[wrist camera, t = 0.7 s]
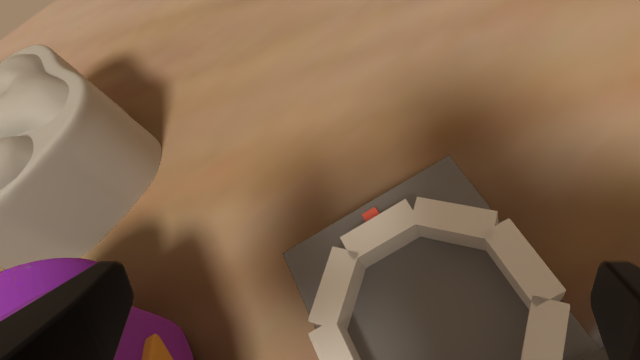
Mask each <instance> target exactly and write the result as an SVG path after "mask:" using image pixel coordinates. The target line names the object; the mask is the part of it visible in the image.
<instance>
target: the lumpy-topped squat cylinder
mask: <svg viewBox="0 0 640 360" xmlns="http://www.w3.org/2000/svg"><path fill="white" fill-rule="evenodd" d="M161 155H162V149H161V145H160V143H159V141H158V140H157V139H156V138H155V137H154V136H153V135H152V134H150V133H149V132H148V131H147V130H146V129H144V128H143V127H142V126H141V125H140V124H138V123H137V122H136V121H135V120H134V119H132V118H131V117H130V116H129V115H128V114H127V112H126V111H124V110H123V109H122V108H121V107H120V106H119V105H117V104H116V103H115V102H114V101H113V100H111V99H110V98H109V97H108V96H107V95H105V94H104V93H103V92H102V91H101V90H99V89H98V88H97V87H96V86H95V85H93V84H92V83H91V82H90V81H89V80H88V79H86V78H85V77H84V76H83V75H82V74H81V73H79V72H78V71H77V70H76V69H75V68H73V67H72V66H71V65H70V64H69V63H68V62H66V61H65V60H64V59H62V58H61V57H60V56H59V55H58V54H57V53H55V52H54V51H53V50H52V49H50V48H49V47H47V46H44V45H33V46H29V47H27V48H24V49H22V50H19V51H17V52H16V53H14V54H12V55H10V56H9V57H7V58H6V59H4V60H3V61H2V62H0V267H1V268H4V269H9V268H12V267H15V266H18V265H21V264H25V263H29V262H34V261H38V260H45V259H52V258H80V257H82V256H84V255H85V254H87V253H88V252H89V251H90V250H92V249H93V248H94V247H95V246H96V245H97V244H98V243H99V242H100V241H101V240H102V239H103V238H104V237H105V236H106V235H107V234H108V233H109V232H110V231H111V230H112V229H113V228H114V227H115V226H116V225H117V224H118V223H119V222H120V221H121V220H122V219H123V217H124V216H125V215H126V214H127V213H128V212H129V211H130V209H131V208H132V207H133V206H134V204H135V203H136V202H137V201H138V199H139V198H140V197H141V196H142V195H143V193H144V192H145V191H146V189H147V188H148V187H149V185H150V184H151V182H152V181H153V179H154V177H155V175H156V173H157V171H158V168H159V165H160V161H161Z"/></svg>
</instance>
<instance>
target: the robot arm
mask: <svg viewBox="0 0 640 360" xmlns="http://www.w3.org/2000/svg"><path fill="white" fill-rule="evenodd" d="M132 304H133V291H132V288H131V285H130V282H129V279H128V277H127V274H126V271H125V268H124V266H123V264H122V263H120V262H118V261H101V262H98V263H96V264H94V265H93V266H91V267H89V268H88V269H86V270H84V271H83V272H81V273H79V274H78V275H76V276H74V277H73V278H71V279H69V280H68V281H66V282H65V283H63V284H61V285H60V286H58V287H56V288H55V289H53V290H51V291H50V292H48V293H46V294H45V295H43V296H41V297H40V298H38V299H36V300H35V301H33V302H31V303H30V304H28V305H26V306H25V307H23V308H22V309H20V310H18V311H17V312H15V313H13V314H12V315H10V316H8V317H7V318H5V319H3V320H2V321H0V360H114V358H115V355H116V352H117V349H118V346H119V343H120V340H121V337H122V334H123V331H124V328H125V325H126V322H127V319H128V316H129V313H130V310H131V307H132ZM591 307H592V311H593V314H594V317H595V320H596V323H597V326H598V329H599V332H600V335H601V338H602V341H603V344H604V347H605V350H606V353H607V356H608V359H609V360H640V268H639V267H638V266H636V265H634V264H633V263H631V262H628V261H603V262H602V263H601V264H600V265H599V268H598V271H597V275H596V278H595V282H594V285H593V289H592V293H591Z"/></svg>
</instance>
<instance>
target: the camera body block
mask: <svg viewBox="0 0 640 360" xmlns="http://www.w3.org/2000/svg"><path fill="white" fill-rule="evenodd" d="M282 254H283V256H284V258H285V260H286V263H287V265H288V267H289V270H290V272H291V274H292V276H293V279H294V281H295V283H296V285H297V288H298V290H299V292H300V295H301V297H302V299H303V301H304V304H305V306H306V308H307V310H308V313H309V318H308V321H309V322H310V323H312V324H314V326H315V330H314V331H312V332H310V333H308V335H309V337H310V339H311V342H312V344H313V346H314V349H315V351H316V353H317V356H318V358H319V360H609V359H608V356H607V353H606V350H605V349H604V348H601V349H599V347H598V346H597V345H596V344H595V342H594V341H593V340H592V338H591V337H590V336H589V335H588V333H587V332H586V331H585V329H584V328H583V327H582V326H581V324H580V323H579V322H578V320H577V319H576V318H575V316H574V315H573V314H572V313H571V311H570V304H567V303H564V302H563V301H562V298H563V296H564V294H565V292H566V289H565V288H564V287H563V285H562V284H561V283H560V282H559V280H558V279H557V278H556V277H555V275H554V274H553V273H552V271H551V270H550V269H549V268H548V266H547V265H546V264H545V263H544V261H543V260H542V259H541V258H540V256H539V255H538V254H537V252H536V251H535V250H534V249H533V247H532V246H531V245H530V244H529V242H528V241H527V240H526V239H525V237H524V236H523V235H522V233H521V232H520V231H519V230H518V228H517V227H516V226H515V225H514V223H513V222H512V221H511V220H510V218H508V219H506V220H505V221H503V222H501V221H500V220H499V218H498V211H494V210H492V209H491V208H490V207H489V205H488V204H487V203H486V202H485V200H484V199H483V198H482V196H481V195H480V194H479V193H478V191H477V190H476V189H475V187H474V186H473V185H472V183H471V182H470V181H469V180H468V178H467V177H466V176H465V174H464V173H463V172H462V171H461V169H460V168H459V167H458V165H457V164H456V163H455V162H454V160H453V159H452V158H451V156H450V155H448V156H447V157H445V158H443V159H442V160H440V161H438V162H436V163H435V164H433V165H431V166H430V167H428V168H426V169H425V170H423V171H421V172H420V173H418V174H416V175H414V176H413V177H411V178H409V179H408V180H406V181H404V182H403V183H401V184H399V185H397V186H396V187H394V188H392V189H391V190H389V191H387V192H386V193H384V194H382V195H381V196H379V197H377V198H375V199H374V200H372V201H370V202H369V203H367V204H365V205H364V206H362V207H360V208H359V209H357V210H355V211H353V212H352V213H350V214H348V215H347V216H345V217H343V218H342V219H340V220H338V221H336V222H335V223H333V224H331V225H330V226H328V227H326V228H325V229H323V230H321V231H320V232H318V233H316V234H314V235H313V236H311V237H309V238H308V239H306V240H304V241H303V242H301V243H299V244H298V245H296V246H294V247H292V248H291V249H289V250H287V251H286V252H284V253H282Z"/></svg>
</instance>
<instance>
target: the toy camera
mask: <svg viewBox="0 0 640 360" xmlns="http://www.w3.org/2000/svg"><path fill="white" fill-rule="evenodd" d="M96 263H98V262H95V261H92V260H88V259H81V258H52V259H45V260H38V261H34V262H29V263H25V264H21V265H18V266H15V267H12V268H9V269H7V270H4V271H2V272H0V321H2V320H3V319H5V318H7V317H8V316H10V315H12V314H13V313H15V312H17V311H18V310H20V309H22V308H23V307H25V306H26V305H28V304H30V303H31V302H33V301H35V300H36V299H38V298H40V297H41V296H43V295H45V294H46V293H48V292H50V291H51V290H53V289H55V288H56V287H58V286H60V285H61V284H63V283H65V282H66V281H68V280H69V279H71V278H73V277H74V276H76V275H78V274H79V273H81V272H83V271H84V270H86V269H88V268H89V267H91V266H93V265H94V264H96ZM114 360H194V358H193V355H192V352H191V349H190V346H189V344H188V341H187V339H186V336H185V334H184V333H183V331H182V329H181V328H180V327H179V326H178V325H177V324H175V323H174V322H172V321H170V320H168V319H166V318H164V317H161V316H159V315H156V314H153V313H150V312H147V311H144V310H141V309H139V308H136V307H133V306H132V307H131V310H130V313H129V316H128V319H127V322H126V325H125V328H124V331H123V334H122V337H121V340H120V343H119V346H118V349H117V352H116V355H115V358H114Z"/></svg>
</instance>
